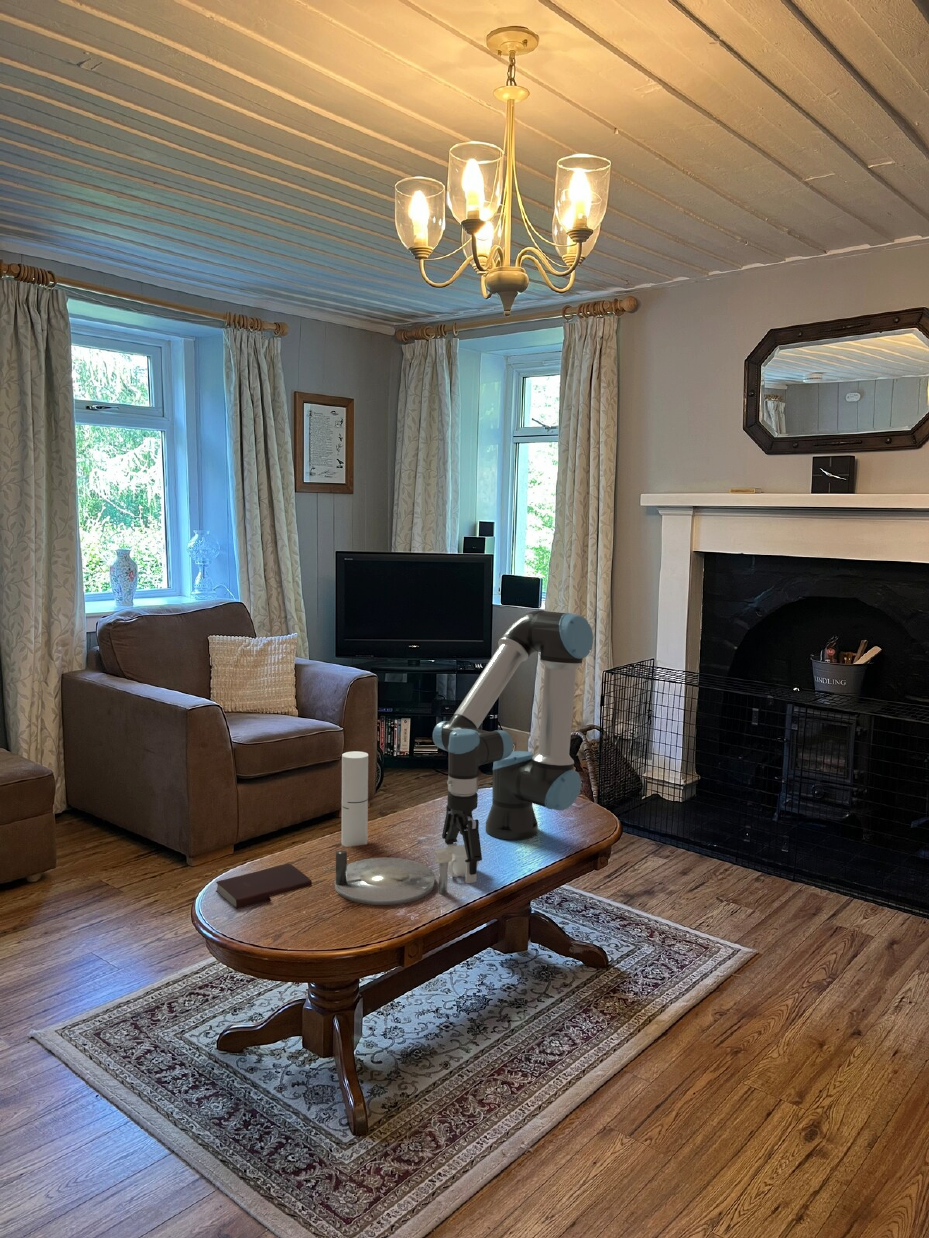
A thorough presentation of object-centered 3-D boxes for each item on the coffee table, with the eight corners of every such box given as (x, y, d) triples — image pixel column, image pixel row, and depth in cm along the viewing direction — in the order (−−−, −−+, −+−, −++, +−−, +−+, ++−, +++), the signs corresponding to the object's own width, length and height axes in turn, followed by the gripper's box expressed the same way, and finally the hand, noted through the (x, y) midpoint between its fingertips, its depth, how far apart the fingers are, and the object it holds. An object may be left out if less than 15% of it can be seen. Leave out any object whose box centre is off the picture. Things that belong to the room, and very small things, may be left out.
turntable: (412, 859, 233) (412, 824, 232) (450, 895, 211) (450, 856, 210) (321, 873, 222) (321, 836, 221) (351, 912, 201) (352, 871, 200)
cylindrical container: (362, 848, 243) (363, 759, 240) (337, 846, 244) (338, 757, 241) (370, 839, 250) (371, 752, 247) (346, 837, 251) (347, 750, 248)
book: (312, 891, 216) (312, 878, 215) (236, 911, 204) (236, 897, 204) (288, 874, 225) (288, 862, 225) (215, 892, 214) (215, 879, 213)
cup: (484, 875, 226) (485, 849, 226) (461, 888, 218) (462, 861, 218) (460, 867, 231) (460, 842, 230) (436, 880, 223) (437, 853, 222)
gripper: (430, 780, 231) (428, 862, 233) (469, 807, 210) (467, 897, 212) (456, 777, 234) (454, 858, 237) (497, 804, 213) (495, 892, 216)
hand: (460, 877), depth 225 cm, fingers open, 11 cm apart
